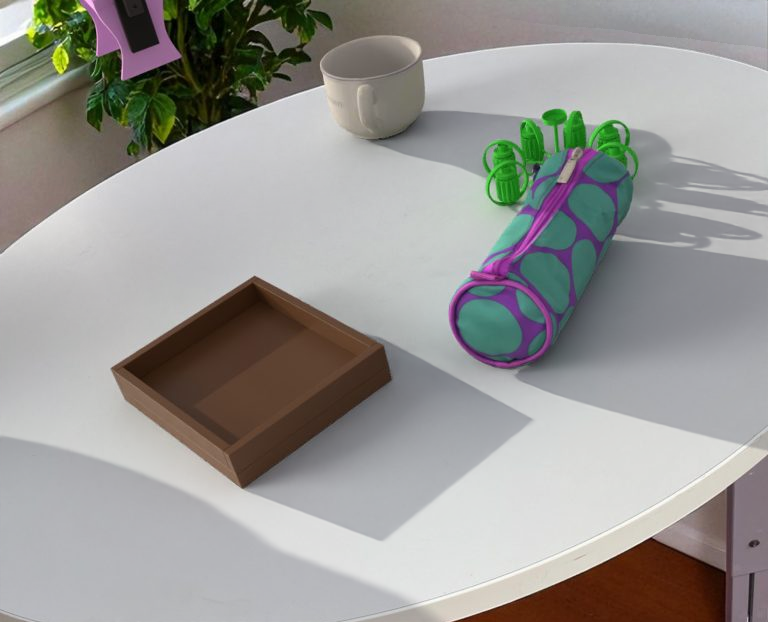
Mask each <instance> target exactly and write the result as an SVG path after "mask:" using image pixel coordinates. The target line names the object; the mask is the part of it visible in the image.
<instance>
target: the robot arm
mask: <svg viewBox="0 0 768 622" xmlns="http://www.w3.org/2000/svg"><path fill="white" fill-rule="evenodd" d="M113 2H114V5H115V8H116V10H117V13H118V16H119V19H120V22H121V25H122V27H123V30H124V33H125V36H126V39H127V42H128V44H129V47H130V50H131V52H132V53H133V54H134V53H136V52H139V51H142V50H144V49H147V48H150V47H152V46H155V45H157V44H160V43H159V40H158V37H157V34H156V31H155V28H154V25H153V22H152V19H151V16H150V13H149V10H148V6H147V3H146V0H113Z"/></svg>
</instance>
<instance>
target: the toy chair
mask: <svg viewBox="0 0 768 622" xmlns="http://www.w3.org/2000/svg"><path fill="white" fill-rule="evenodd" d="M78 2H79V3H80V5H81V6H82V7H83V8H84V9H85V10H86V12H88V14H89V16H90V17H91V19H92V21H93V23H94V26H95V31H96V50H95V51H96V53H95V54H96V57H98V58H99V57H102V56H105V55H107V54H110V53H112V52H115V51H117V50H120V52H121V75H120V79H121V81H122V82H124V81H126V80H130V79H132V78H134V77H136V76H140V75H141V74H144V73H147V72H149V71H152V70H154V69H156V68H159V67H161V66H164V65H167V64H168V63H172V62H173V61H174V62H175V61H177V60H179V59H181V58H182V54H181V53H180V52H179V50H178V49H177V48H176V47H175V45H174V44H173V42H172V41H171V38H170V37H169V34H168V32H167V30H166V26H165V20H164V19H165V18H164V0H146V3H147V6H148V10H149V13H150V16H151V19H152V22H153V25H154V28H155V31H156V34H157V37H158V40H159V43H160V44H157V45H155V46H152V47H150V48H147V49H144V50H142V51H139V52H136V53H134V54H133V53H132V52H131V50H130V47H129V44H128V42H127V39H126V36H125V33H124V30H123V27H122V25H121V22H120V19H119V16H118V13H117V10H116V8H115V5H114V2H113V0H78Z"/></svg>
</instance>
